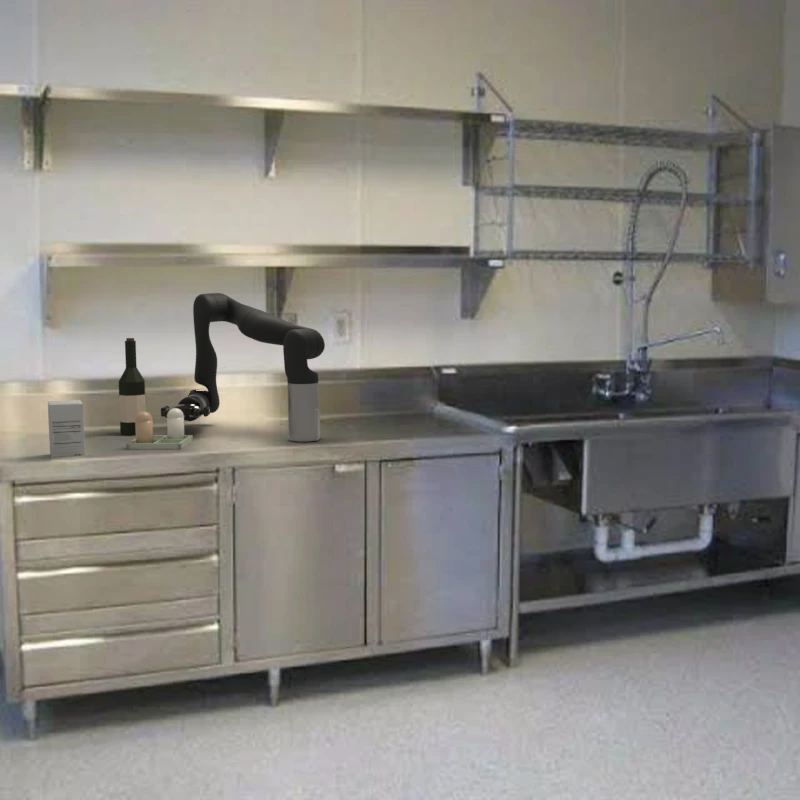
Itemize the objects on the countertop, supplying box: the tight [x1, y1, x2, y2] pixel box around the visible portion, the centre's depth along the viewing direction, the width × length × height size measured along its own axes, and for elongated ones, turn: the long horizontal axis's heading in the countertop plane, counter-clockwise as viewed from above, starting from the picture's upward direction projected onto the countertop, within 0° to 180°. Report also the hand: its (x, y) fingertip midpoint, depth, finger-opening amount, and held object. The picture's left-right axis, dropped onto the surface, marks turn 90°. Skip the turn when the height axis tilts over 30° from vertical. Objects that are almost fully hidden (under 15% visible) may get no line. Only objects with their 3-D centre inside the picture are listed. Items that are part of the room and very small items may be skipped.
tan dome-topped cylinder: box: [135, 411, 154, 443], centre depth 297 cm, size 5×5×10 cm
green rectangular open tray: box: [125, 434, 194, 450], centre depth 301 cm, size 15×15×2 cm
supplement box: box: [47, 399, 86, 459], centre depth 286 cm, size 9×9×15 cm
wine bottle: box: [118, 337, 147, 437], centre depth 324 cm, size 8×8×30 cm
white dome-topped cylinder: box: [166, 408, 185, 439], centre depth 304 cm, size 5×5×10 cm
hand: (180, 414), depth 310 cm, fingers open, 8 cm apart
